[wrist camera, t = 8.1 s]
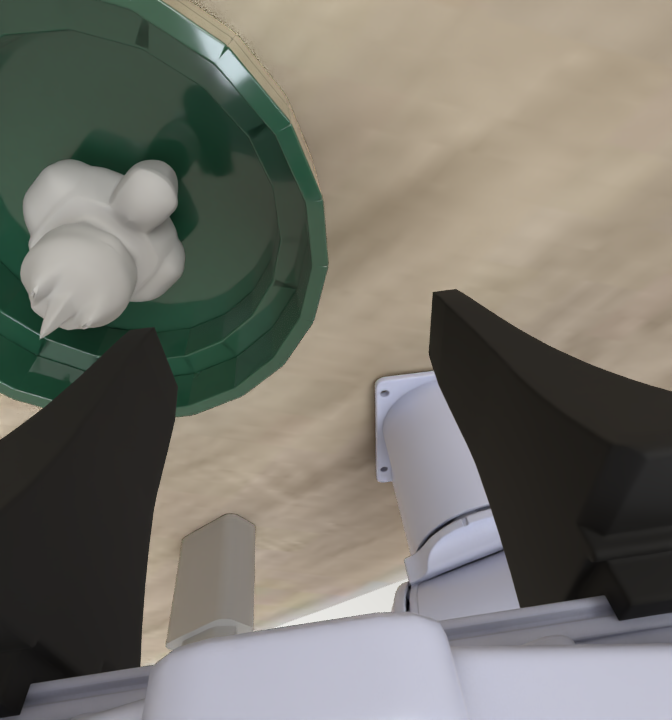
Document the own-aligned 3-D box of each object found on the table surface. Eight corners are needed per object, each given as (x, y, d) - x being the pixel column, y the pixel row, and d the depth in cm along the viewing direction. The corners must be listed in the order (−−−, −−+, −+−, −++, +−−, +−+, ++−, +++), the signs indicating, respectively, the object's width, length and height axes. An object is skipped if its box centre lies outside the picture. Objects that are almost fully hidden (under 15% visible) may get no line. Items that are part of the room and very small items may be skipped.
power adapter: (260, 528, 35) (257, 724, 25) (207, 556, 36) (187, 750, 27) (230, 511, 33) (216, 715, 24) (177, 541, 35) (144, 743, 25)
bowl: (328, 332, 24) (339, 397, 20) (31, 367, 23) (-16, 442, 20) (292, -58, 15) (301, -75, 11) (-212, -19, 14) (-399, -23, 10)
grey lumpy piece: (17, 216, 18) (-113, 332, 12) (115, 88, 16) (18, 150, 10) (137, 299, 21) (83, 429, 15) (235, 202, 19) (219, 306, 13)
